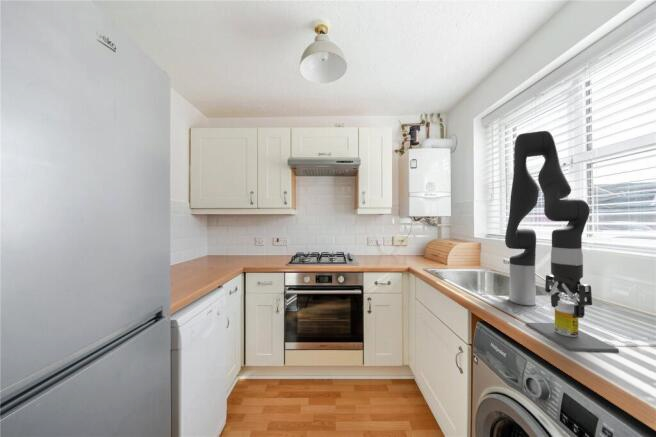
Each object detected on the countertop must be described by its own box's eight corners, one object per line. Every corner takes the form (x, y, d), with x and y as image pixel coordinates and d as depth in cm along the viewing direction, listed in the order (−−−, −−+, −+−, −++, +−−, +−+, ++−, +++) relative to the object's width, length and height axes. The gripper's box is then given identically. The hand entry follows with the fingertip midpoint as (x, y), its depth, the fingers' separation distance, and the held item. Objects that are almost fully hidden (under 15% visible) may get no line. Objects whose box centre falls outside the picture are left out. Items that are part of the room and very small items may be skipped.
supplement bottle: (575, 339, 78) (575, 306, 78) (552, 333, 83) (551, 301, 83) (580, 334, 81) (580, 302, 81) (558, 328, 86) (557, 298, 86)
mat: (525, 324, 91) (525, 322, 91) (564, 325, 90) (564, 323, 90) (570, 350, 73) (570, 348, 73) (618, 351, 72) (618, 349, 72)
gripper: (537, 258, 89) (537, 304, 89) (574, 266, 75) (574, 321, 75) (559, 257, 89) (560, 304, 89) (601, 265, 74) (601, 321, 75)
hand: (566, 312), depth 82 cm, fingers open, 8 cm apart
